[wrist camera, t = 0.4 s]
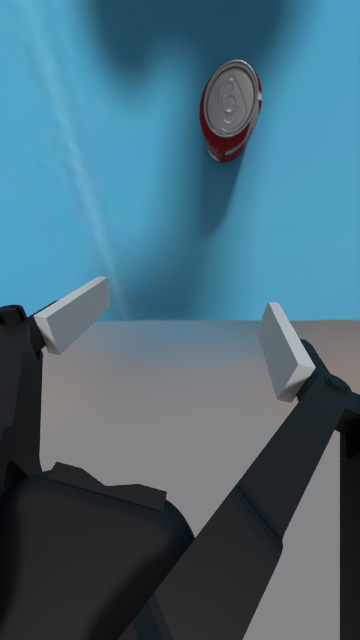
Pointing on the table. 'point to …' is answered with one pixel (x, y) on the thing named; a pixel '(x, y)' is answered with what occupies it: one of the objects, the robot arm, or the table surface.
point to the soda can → (230, 109)
